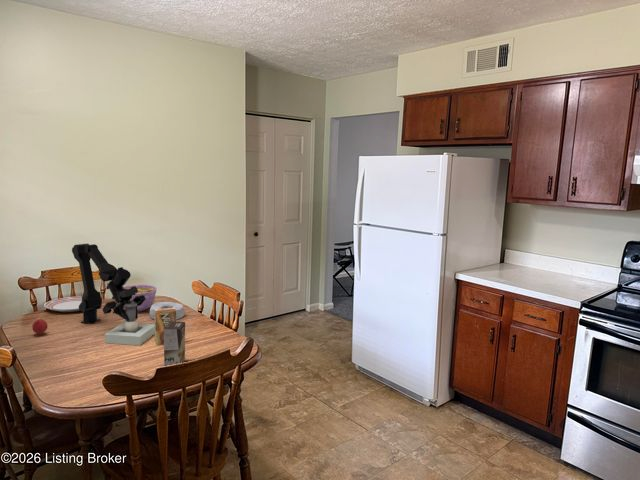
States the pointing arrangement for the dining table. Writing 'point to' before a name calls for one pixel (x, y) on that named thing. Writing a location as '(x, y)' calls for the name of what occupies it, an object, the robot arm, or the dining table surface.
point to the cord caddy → (130, 335)
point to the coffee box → (174, 343)
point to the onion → (39, 326)
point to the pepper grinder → (131, 318)
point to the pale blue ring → (161, 305)
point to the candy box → (163, 322)
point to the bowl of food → (147, 292)
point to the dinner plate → (64, 304)
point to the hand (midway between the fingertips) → (132, 319)
